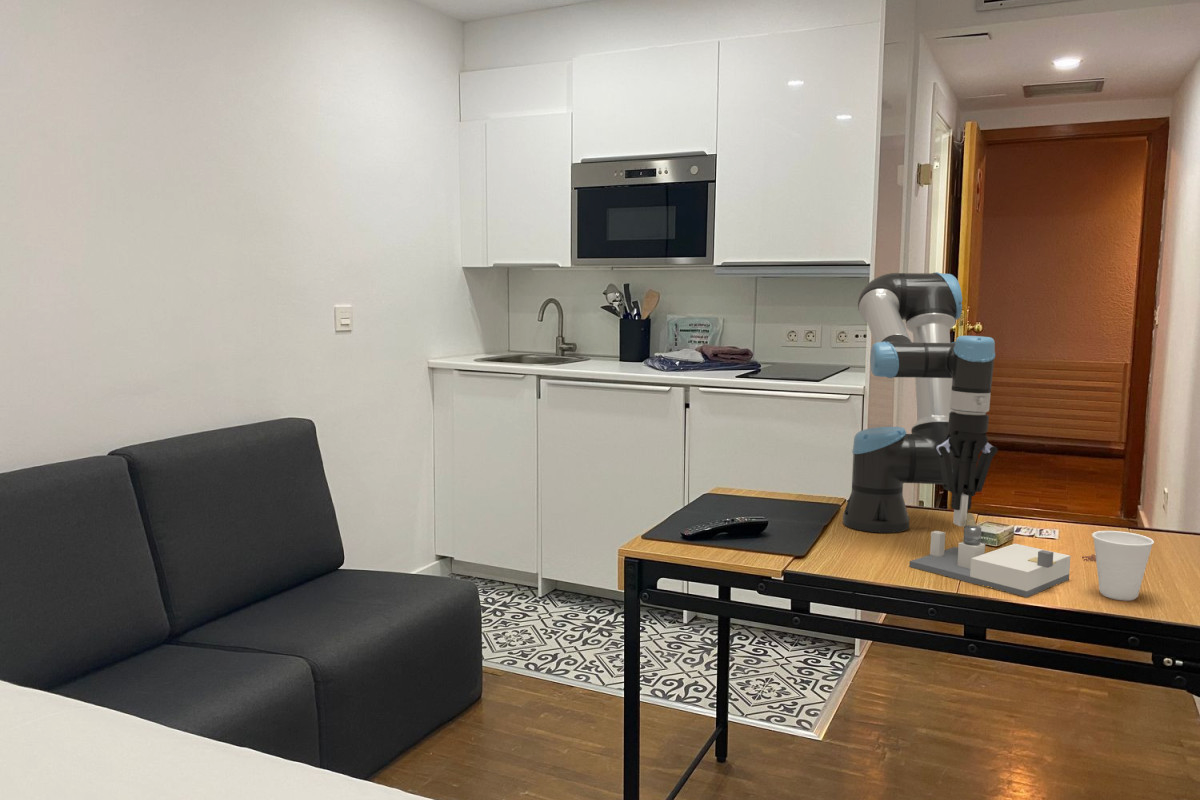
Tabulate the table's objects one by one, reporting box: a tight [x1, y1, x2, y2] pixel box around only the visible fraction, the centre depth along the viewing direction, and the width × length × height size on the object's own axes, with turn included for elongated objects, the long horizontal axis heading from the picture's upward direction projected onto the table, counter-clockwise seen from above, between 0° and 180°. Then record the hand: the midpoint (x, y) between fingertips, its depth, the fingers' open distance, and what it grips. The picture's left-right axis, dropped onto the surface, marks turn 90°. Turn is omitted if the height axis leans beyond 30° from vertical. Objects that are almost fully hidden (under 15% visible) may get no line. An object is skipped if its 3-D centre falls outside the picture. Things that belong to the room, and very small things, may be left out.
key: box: [1081, 554, 1096, 563], centre depth 187 cm, size 6×1×15 cm
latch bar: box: [962, 512, 982, 544], centre depth 187 cm, size 15×3×3 cm, turn 162°
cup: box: [1091, 530, 1155, 602], centre depth 168 cm, size 10×10×11 cm
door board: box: [908, 530, 1071, 598], centre depth 181 cm, size 25×17×7 cm
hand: (959, 524), depth 190 cm, fingers closed
